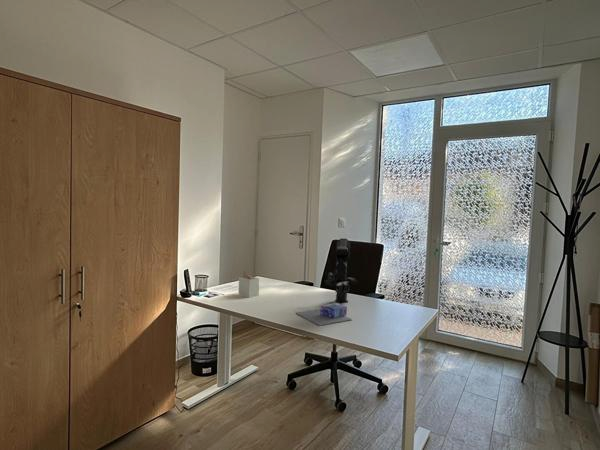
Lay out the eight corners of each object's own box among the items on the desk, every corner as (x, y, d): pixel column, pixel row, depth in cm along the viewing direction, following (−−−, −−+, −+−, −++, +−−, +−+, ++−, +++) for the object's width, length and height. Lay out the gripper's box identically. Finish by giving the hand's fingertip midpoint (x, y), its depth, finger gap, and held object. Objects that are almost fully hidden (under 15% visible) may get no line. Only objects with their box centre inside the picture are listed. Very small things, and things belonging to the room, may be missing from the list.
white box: (247, 293, 251) (248, 270, 250) (258, 296, 244) (259, 272, 243) (238, 295, 244) (239, 271, 243) (249, 298, 237) (249, 273, 236)
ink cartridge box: (347, 305, 203) (328, 310, 194) (347, 315, 204) (328, 320, 195) (335, 302, 211) (317, 306, 202) (335, 311, 211) (316, 315, 202)
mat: (326, 308, 217) (326, 307, 217) (351, 320, 197) (351, 319, 197) (295, 313, 206) (295, 312, 206) (319, 326, 185) (319, 324, 185)
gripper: (345, 266, 218) (344, 291, 219) (320, 268, 208) (319, 294, 209) (357, 269, 208) (356, 295, 209) (331, 271, 199) (330, 299, 199)
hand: (340, 296), depth 207 cm, fingers closed
